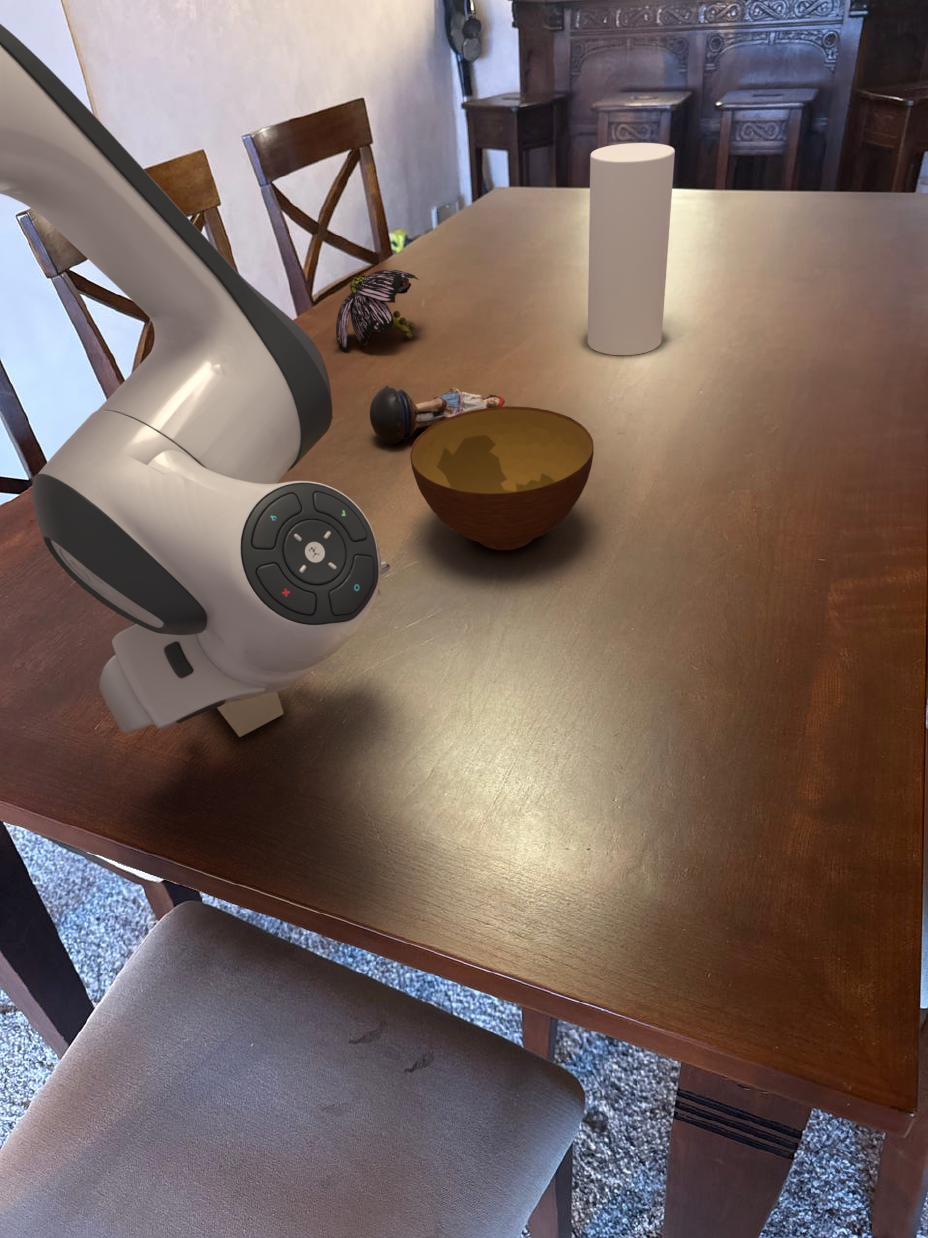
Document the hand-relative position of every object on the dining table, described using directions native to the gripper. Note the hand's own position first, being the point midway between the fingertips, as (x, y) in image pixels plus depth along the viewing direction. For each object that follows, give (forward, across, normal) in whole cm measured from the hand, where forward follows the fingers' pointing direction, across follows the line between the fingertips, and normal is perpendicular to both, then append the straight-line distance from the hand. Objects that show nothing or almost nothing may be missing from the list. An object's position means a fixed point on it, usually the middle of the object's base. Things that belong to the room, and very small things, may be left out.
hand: (234, 660), depth 68 cm
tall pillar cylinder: (+28, -77, -20) cm, 84 cm away
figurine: (+26, -41, -18) cm, 52 cm away
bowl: (+9, -32, 0) cm, 33 cm away
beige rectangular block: (+4, 0, +4) cm, 6 cm away
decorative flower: (+48, -52, -40) cm, 81 cm away
